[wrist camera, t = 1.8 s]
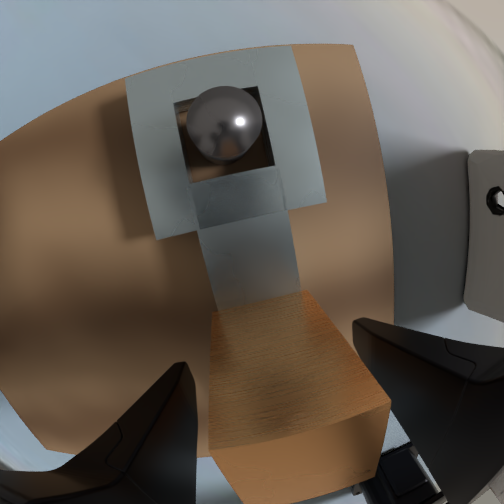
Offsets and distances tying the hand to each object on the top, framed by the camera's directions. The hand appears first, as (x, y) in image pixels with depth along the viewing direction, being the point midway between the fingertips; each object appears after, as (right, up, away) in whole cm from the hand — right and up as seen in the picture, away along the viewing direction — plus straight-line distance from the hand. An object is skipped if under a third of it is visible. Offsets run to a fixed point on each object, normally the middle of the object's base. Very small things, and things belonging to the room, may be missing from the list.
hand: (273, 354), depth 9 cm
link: (-1, +2, +2) cm, 2 cm away
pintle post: (-2, +7, 0) cm, 7 cm away
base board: (-6, 0, +3) cm, 7 cm away
